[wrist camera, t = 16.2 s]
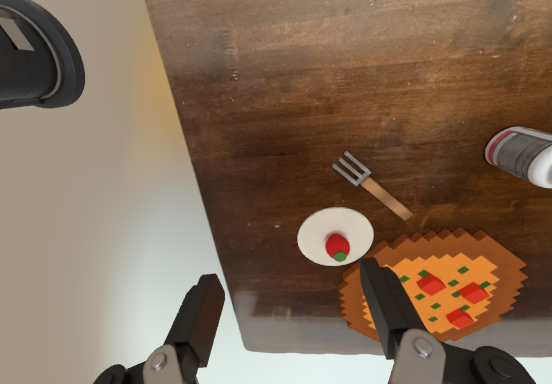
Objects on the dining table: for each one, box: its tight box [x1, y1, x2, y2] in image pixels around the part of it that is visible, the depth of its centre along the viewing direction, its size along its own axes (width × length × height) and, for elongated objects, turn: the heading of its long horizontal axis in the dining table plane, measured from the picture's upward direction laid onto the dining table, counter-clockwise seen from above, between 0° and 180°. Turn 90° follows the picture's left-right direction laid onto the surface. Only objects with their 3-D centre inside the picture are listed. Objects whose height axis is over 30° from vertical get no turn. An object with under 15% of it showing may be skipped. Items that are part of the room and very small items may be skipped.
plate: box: [298, 207, 373, 266], centre depth 39 cm, size 13×13×1 cm
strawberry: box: [325, 234, 350, 262], centre depth 36 cm, size 4×4×4 cm
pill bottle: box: [485, 127, 552, 188], centre depth 25 cm, size 5×5×10 cm
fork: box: [332, 151, 413, 220], centre depth 33 cm, size 15×3×1 cm, turn 53°
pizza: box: [338, 227, 528, 343], centre depth 43 cm, size 32×32×3 cm
